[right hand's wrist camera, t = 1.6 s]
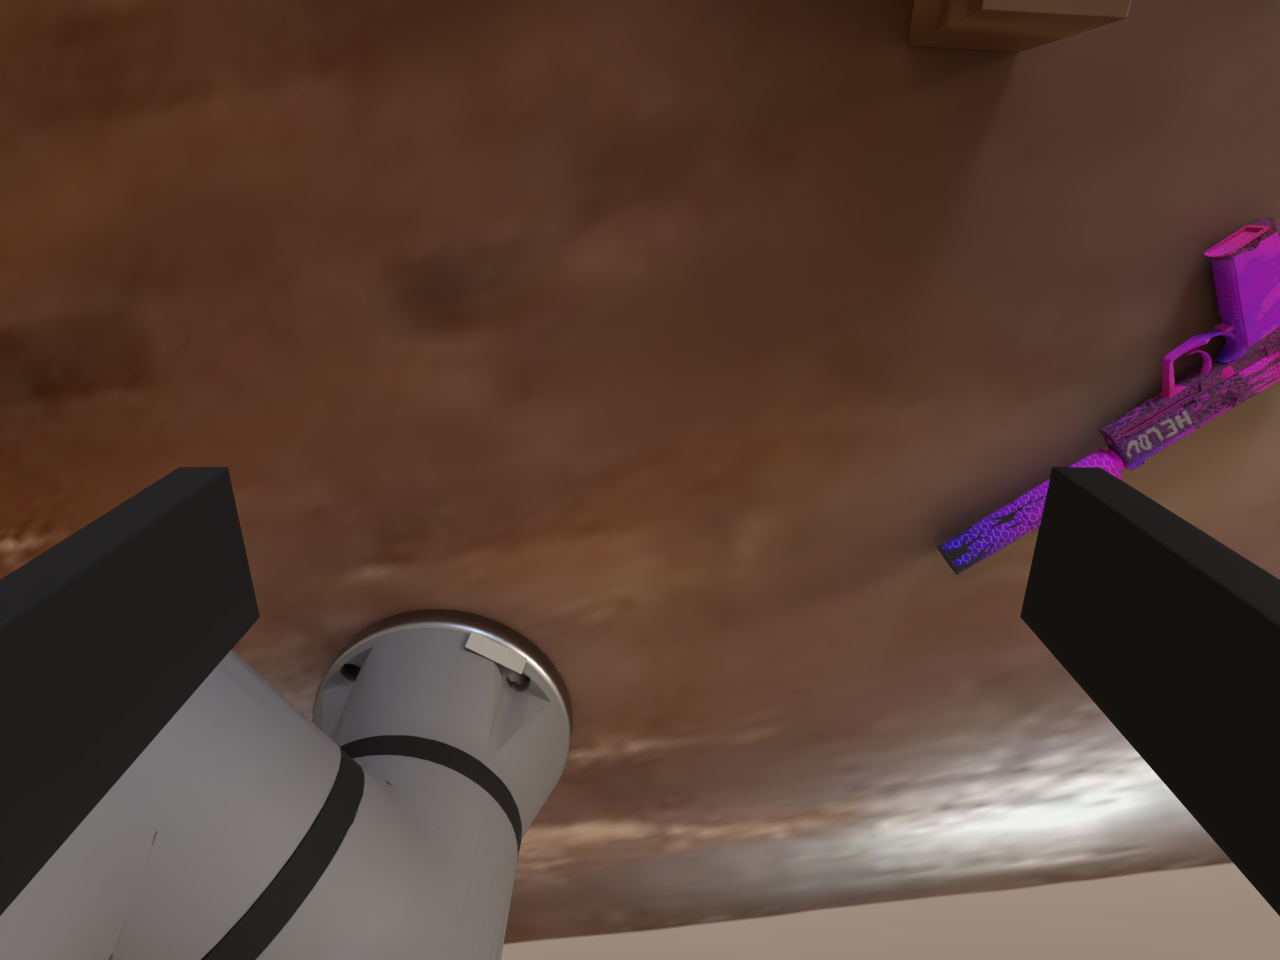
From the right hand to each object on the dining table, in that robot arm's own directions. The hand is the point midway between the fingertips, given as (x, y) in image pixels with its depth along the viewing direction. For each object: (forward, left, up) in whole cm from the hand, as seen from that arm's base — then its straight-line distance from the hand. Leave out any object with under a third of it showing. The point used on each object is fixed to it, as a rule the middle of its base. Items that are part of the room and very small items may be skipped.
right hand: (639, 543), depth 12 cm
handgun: (-4, -24, -27) cm, 37 cm away
